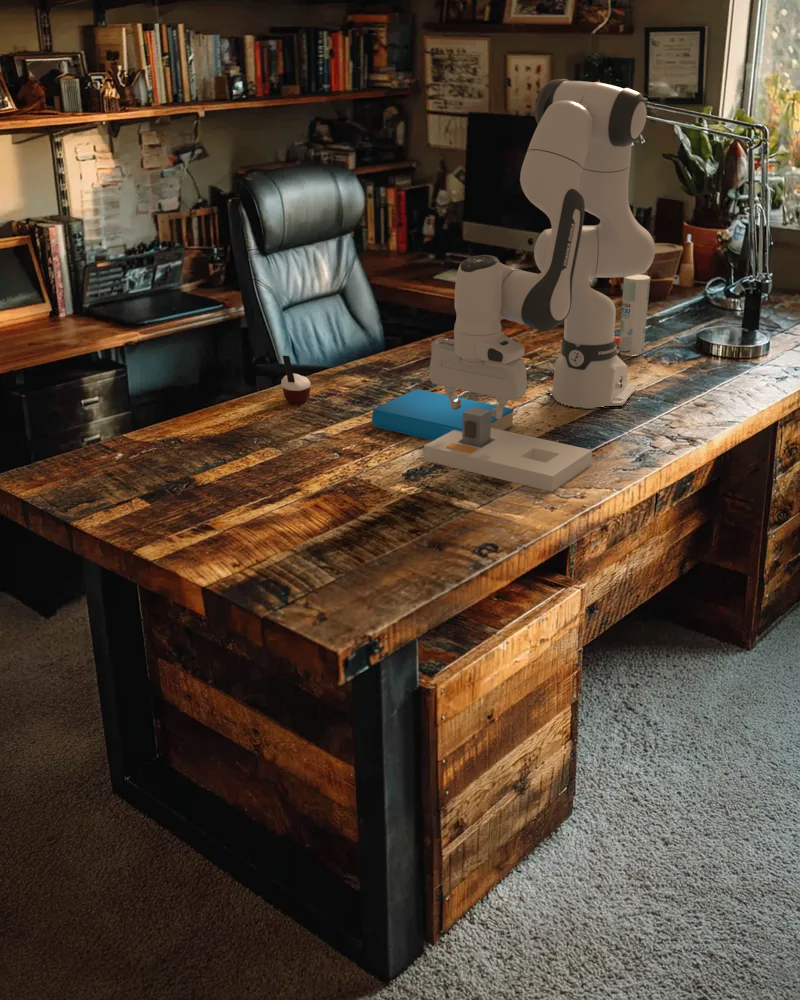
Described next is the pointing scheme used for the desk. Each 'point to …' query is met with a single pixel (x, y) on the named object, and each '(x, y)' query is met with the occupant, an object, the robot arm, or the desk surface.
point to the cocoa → (294, 385)
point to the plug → (476, 427)
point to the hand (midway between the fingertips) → (475, 413)
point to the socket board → (512, 458)
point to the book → (430, 415)
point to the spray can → (634, 314)
